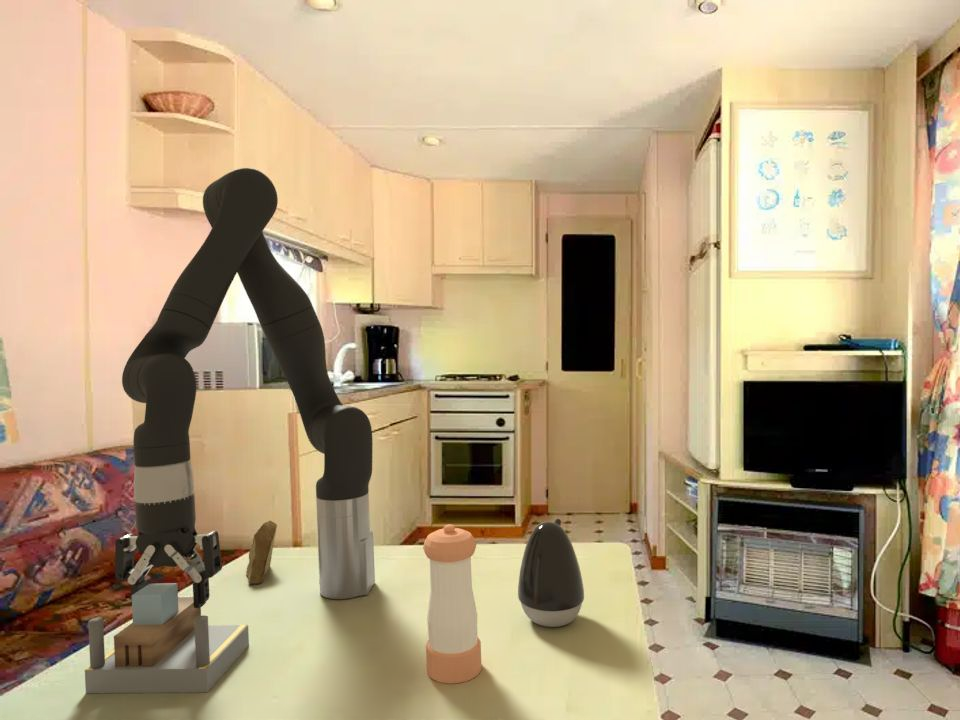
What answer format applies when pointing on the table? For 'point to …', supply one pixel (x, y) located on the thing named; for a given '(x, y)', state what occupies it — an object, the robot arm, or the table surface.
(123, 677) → the dock
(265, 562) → the rock
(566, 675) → the table surface
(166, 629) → the pallet
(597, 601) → the table surface
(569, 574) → the dark grey egg shape
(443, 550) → the salt shaker
